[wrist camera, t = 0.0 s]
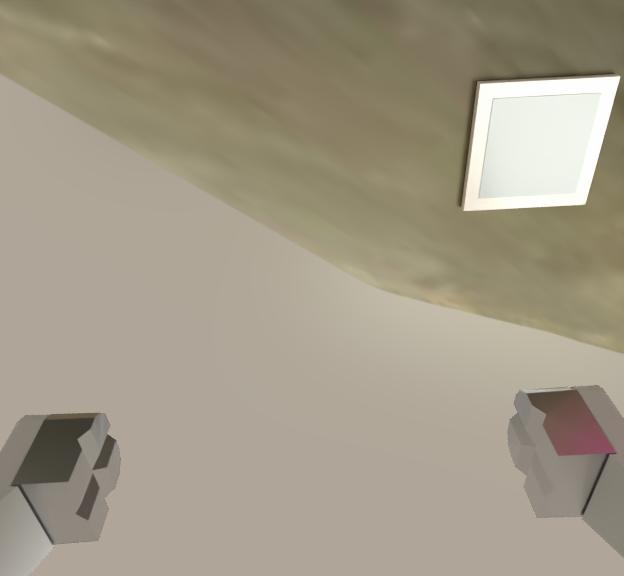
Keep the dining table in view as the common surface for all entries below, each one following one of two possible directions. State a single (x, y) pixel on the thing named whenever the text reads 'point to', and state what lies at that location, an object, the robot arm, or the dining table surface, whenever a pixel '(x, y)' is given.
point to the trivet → (536, 141)
